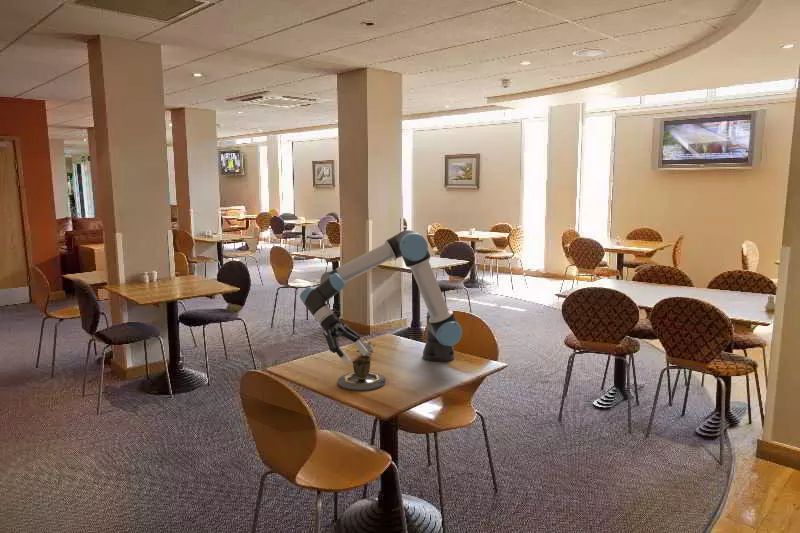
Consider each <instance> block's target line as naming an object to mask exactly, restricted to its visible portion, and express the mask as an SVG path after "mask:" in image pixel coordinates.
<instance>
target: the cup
mask: <svg viewBox="0 0 800 533" xmlns="http://www.w3.org/2000/svg"><path fill="white" fill-rule="evenodd" d="M364 359H365V360H364ZM352 368H353V372H354V373H355V375H356V376H358V377H357V378H358V380H361V381H363V380H365V379H366V376H367V375H368V374H369V372H371V371H370V370H371V360H370V359H368V358H367V359H366V358H358V359H355V360H352Z"/></svg>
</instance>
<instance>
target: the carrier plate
mask: <svg viewBox="0 0 800 533" xmlns="http://www.w3.org/2000/svg"><path fill="white" fill-rule="evenodd" d="M357 377H358V376H356V375H355V373H354V371H353V372H349V373H348V372H347V373H346V374H343V375H341V376H340V377H339V378H337V384H338V387H340V388H342V389H345V390H348V391H352V392H353V391H354V392H355V391H356V392H367V391H373V390H378V389H380V388H383V387H384V386H385V385H386V383H387V381H386V380H387V378H386V377H385V375H383V374H380V373H378V372H372V371H369V374H368V375H367V376H366V379H365V380H363V381H361V380H358V378H357Z"/></svg>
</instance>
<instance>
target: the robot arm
mask: <svg viewBox="0 0 800 533" xmlns="http://www.w3.org/2000/svg"><path fill="white" fill-rule="evenodd" d="M399 258H402V259H403V262H404V265H405V267H407V268H409V269H410V270H411V272H412V275H413V278H414V280H415V282H416V284H417V286H418V290H419V292H420V294H421V297H422V299H423V302H424V304H425V306H426V309H427V312H426V342H425V346H424V347H423V351H422V358H423V359H425V360H426V361H430V362H449V361H453V360H454V359H455V356H456V354H455V351H454V345H456V344H458V343H459V341H460V340H461V338H462V337H463V336H462V335H463V329H462V328H463V327H462V326H461V325H460V323H459V322H458V320H457V319H456V316H455V313H454V312H453V310H451V309H449V307H448V304H447V302H446V300H445V298H444V295H443V292H442V291H441V288H440V285H439V283H438V280H437V278H436V276H435V274H434V270H433V267H432V266H431V263H430V260H431V258H432V257H431V254H430V252H429V245H428V242H427V239H426V238H425V237H424V236H423V235H422V234H421V233H420V232H415V231H413V230H409V229H408V230H403V231H400V232H398V233H396V234H395V235H394V236H391V237H390V238H388V239H386V240H385V242H384V243H383V244H382V245H380V246H378V247H376V248H374V249H372V250H370V251H368V252H366V253H363V254H362V255H360V256H358V257H357V258H354V259H352V260H350V261H348V262H346V263H344V264H342V265H340V266H339V267H337V268H335V269H333V270H331V271H326V272H324V273H322V274H321V277H320V284H319V285H318V286H317V287H314V286H308V287H307V288H304V289H303V290H302V291H301V293H300V294H299V298H300V300H301V302H302V303H303V305H304V306H305V308H307V309H308V311H309V312H310V313H311V315H312V316H313V317H314V319H315V320H316V321H317V323H318V324H320V327H321V328H322V330H323V332H322V334H323V335H324V336H323V337H325V340H326V342H327V346H328V348H329V352H331V353H334V354H335V353H336V354H337V355H338V357H339V358H340V359H341V360H342V362H344V364H345V365H347V364H348V363H350V361H351V358H350V357H349V356H348V355H347V353H346V352H345V351H344V349H343V348H342V347H340V343H339V338H340V337H344V338H345V339H348V340H349V341H351V342H353V345H354V346H355V347H356V348H357V350H358V349H359V351H360V352H361V353H362V355H361V356H363V355H365V354H366V353H367V352H368V351H367V350H366V348H365V347H364V346H363V344H362V343H361V340H360V339H361V335H360V334H359V333H358V332H356V331H355V330H353V329H352V328H351V327H349V326H348V325H347V324H346V323H345V322H342V323H341V324H340V323H339V322H340V321H339V318H338V317H337V315H336V314H335V313H334V312H333V310H332V308H330V307H329V306H328V304H327V302H328V301H329V300H330V299H332V298H333V297H335V296H336V295H337V294H338V293H339V292H341V291H342V290H343V289H344V288H345V287H346V285H347V284H346V283H347V282H349V281H351V280H353V279H355V278H358V277H359V276H360V275H362V274H364V273H366V272H368V271H370V270H373V269H374V268H376V267H378V266H380V265H383V264H385V263H386V262H388V261H390V260H392V259H393V260H397V259H399Z"/></svg>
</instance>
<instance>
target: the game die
mask: <svg viewBox="0 0 800 533" xmlns="http://www.w3.org/2000/svg"><path fill="white" fill-rule="evenodd" d="M360 342H361V341H360ZM361 343H362V344H363V346H364V347H365V348H366V350H367V351H368V352H367V353H366V354H365V355H362V353H361V352H360V351H359V349H358V348H357V350H356V353H358V354H359V353H360V356H363V357H364V358H363V359H366V357H368V356H371V357H372V353H374V347H375V345H373V344H372V342H371V341H368V339H367V338H366V339H365V340H364V341H362V342H361Z"/></svg>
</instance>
